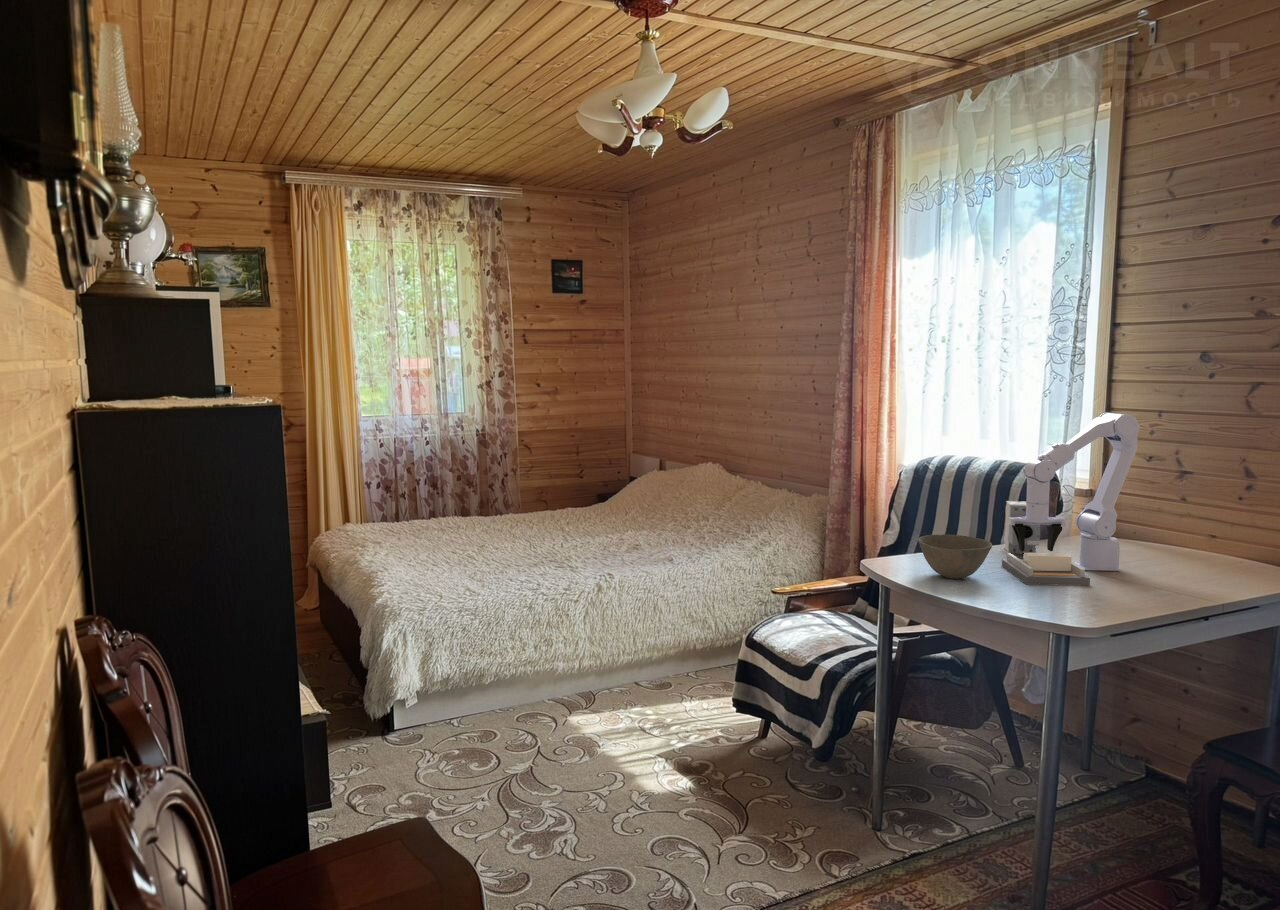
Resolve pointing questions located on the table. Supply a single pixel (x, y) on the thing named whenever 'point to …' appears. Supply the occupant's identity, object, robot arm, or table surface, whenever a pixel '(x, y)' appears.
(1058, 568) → the breaker toggle
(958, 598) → the table surface
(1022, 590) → the table surface
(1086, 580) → the grey shallow rectangular tray
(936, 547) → the bowl
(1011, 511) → the circuit breaker
